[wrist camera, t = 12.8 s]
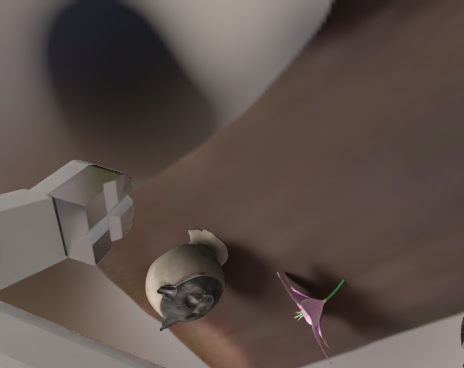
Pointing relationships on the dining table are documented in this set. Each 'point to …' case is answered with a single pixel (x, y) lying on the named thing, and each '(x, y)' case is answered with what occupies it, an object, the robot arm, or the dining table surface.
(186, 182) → the dining table surface
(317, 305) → the lily
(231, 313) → the dining table surface
